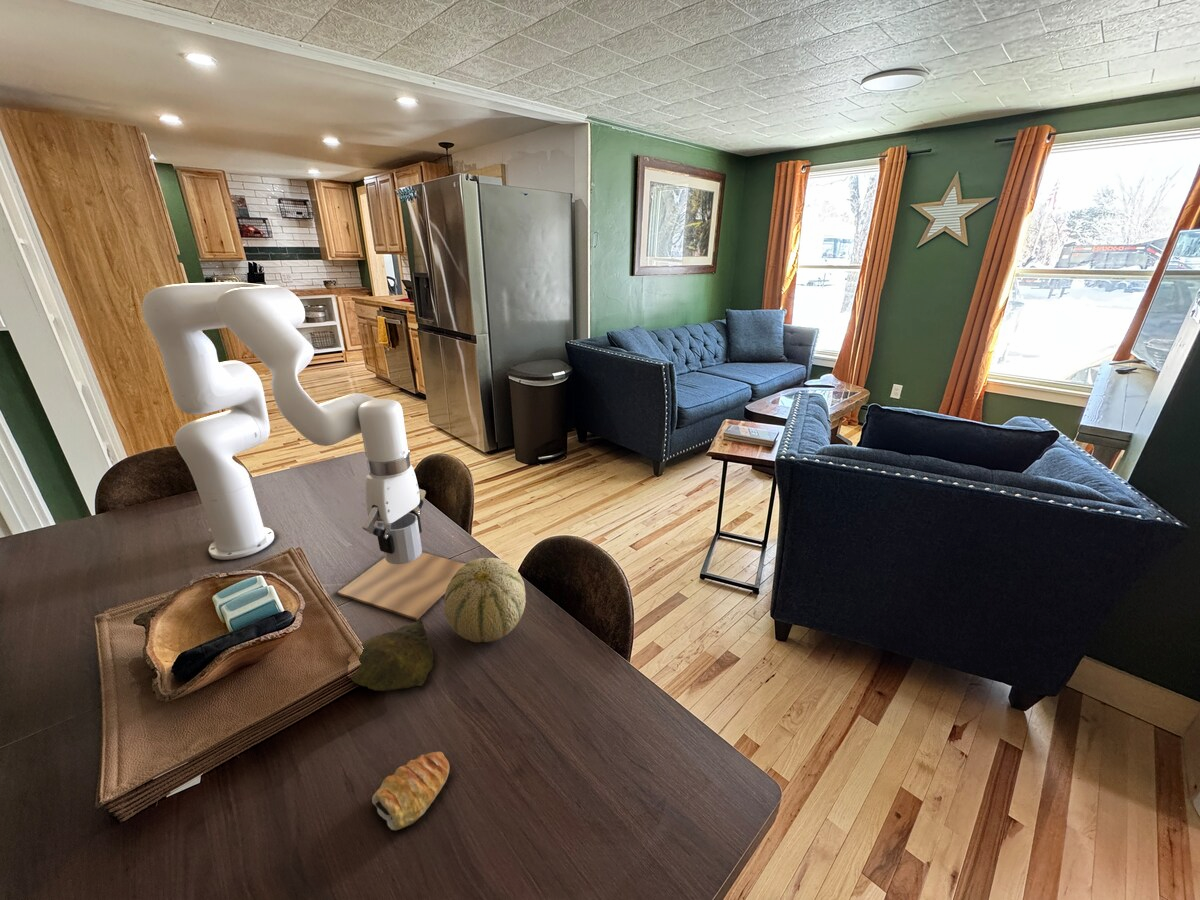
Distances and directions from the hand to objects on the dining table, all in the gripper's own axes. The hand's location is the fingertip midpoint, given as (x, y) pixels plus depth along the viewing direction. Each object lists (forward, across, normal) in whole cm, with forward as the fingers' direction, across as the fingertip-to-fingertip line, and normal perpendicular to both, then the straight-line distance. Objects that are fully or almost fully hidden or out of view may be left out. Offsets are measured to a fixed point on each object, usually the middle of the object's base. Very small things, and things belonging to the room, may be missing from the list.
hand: (401, 540), depth 98 cm
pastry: (+10, +35, +31) cm, 48 cm away
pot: (+3, 0, 0) cm, 3 cm away
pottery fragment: (+10, +18, +13) cm, 24 cm away
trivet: (+10, 0, 0) cm, 10 cm away
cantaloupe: (+10, +6, +24) cm, 27 cm away
